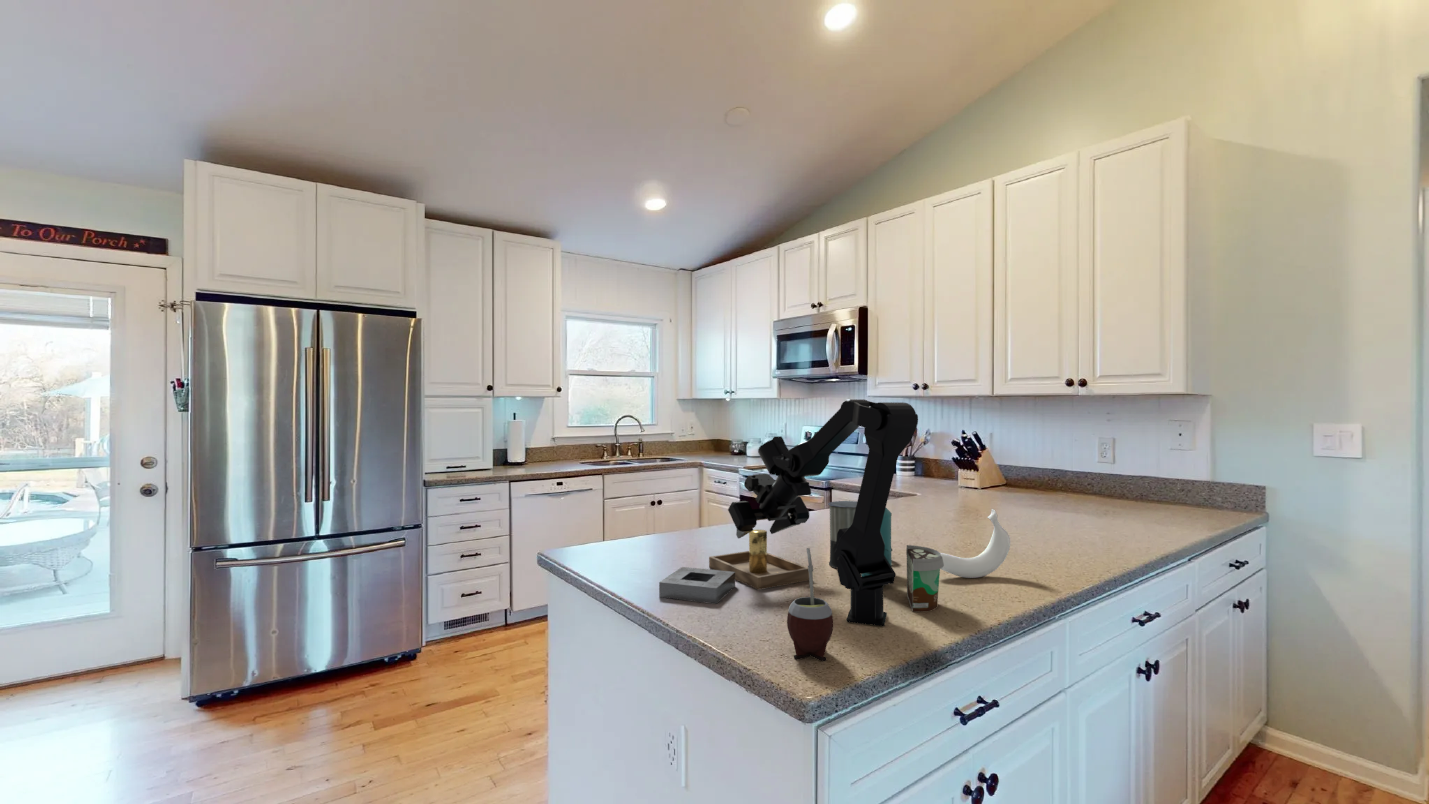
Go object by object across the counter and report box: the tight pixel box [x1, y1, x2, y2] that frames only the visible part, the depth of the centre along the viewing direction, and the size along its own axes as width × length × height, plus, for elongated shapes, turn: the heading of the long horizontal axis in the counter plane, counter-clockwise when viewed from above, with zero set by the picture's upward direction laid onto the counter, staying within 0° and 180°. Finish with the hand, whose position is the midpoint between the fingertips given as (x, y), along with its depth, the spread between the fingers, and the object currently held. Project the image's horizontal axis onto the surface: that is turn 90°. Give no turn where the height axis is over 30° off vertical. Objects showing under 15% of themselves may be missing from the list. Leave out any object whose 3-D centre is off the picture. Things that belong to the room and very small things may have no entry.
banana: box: [940, 508, 1011, 579], centre depth 136 cm, size 5×19×15 cm, turn 100°
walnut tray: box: [708, 550, 809, 591], centre depth 138 cm, size 20×14×2 cm
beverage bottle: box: [860, 507, 893, 577], centre depth 129 cm, size 6×7×20 cm
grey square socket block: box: [658, 566, 736, 605], centre depth 125 cm, size 12×12×3 cm
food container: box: [905, 544, 944, 613], centre depth 117 cm, size 12×6×10 cm, turn 168°
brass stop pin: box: [748, 529, 768, 574], centre depth 138 cm, size 4×4×9 cm
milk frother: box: [828, 500, 893, 569], centre depth 147 cm, size 14×16×15 cm
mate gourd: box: [786, 547, 834, 663], centre depth 94 cm, size 8×8×15 cm
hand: (754, 534), depth 139 cm, fingers open, 9 cm apart
